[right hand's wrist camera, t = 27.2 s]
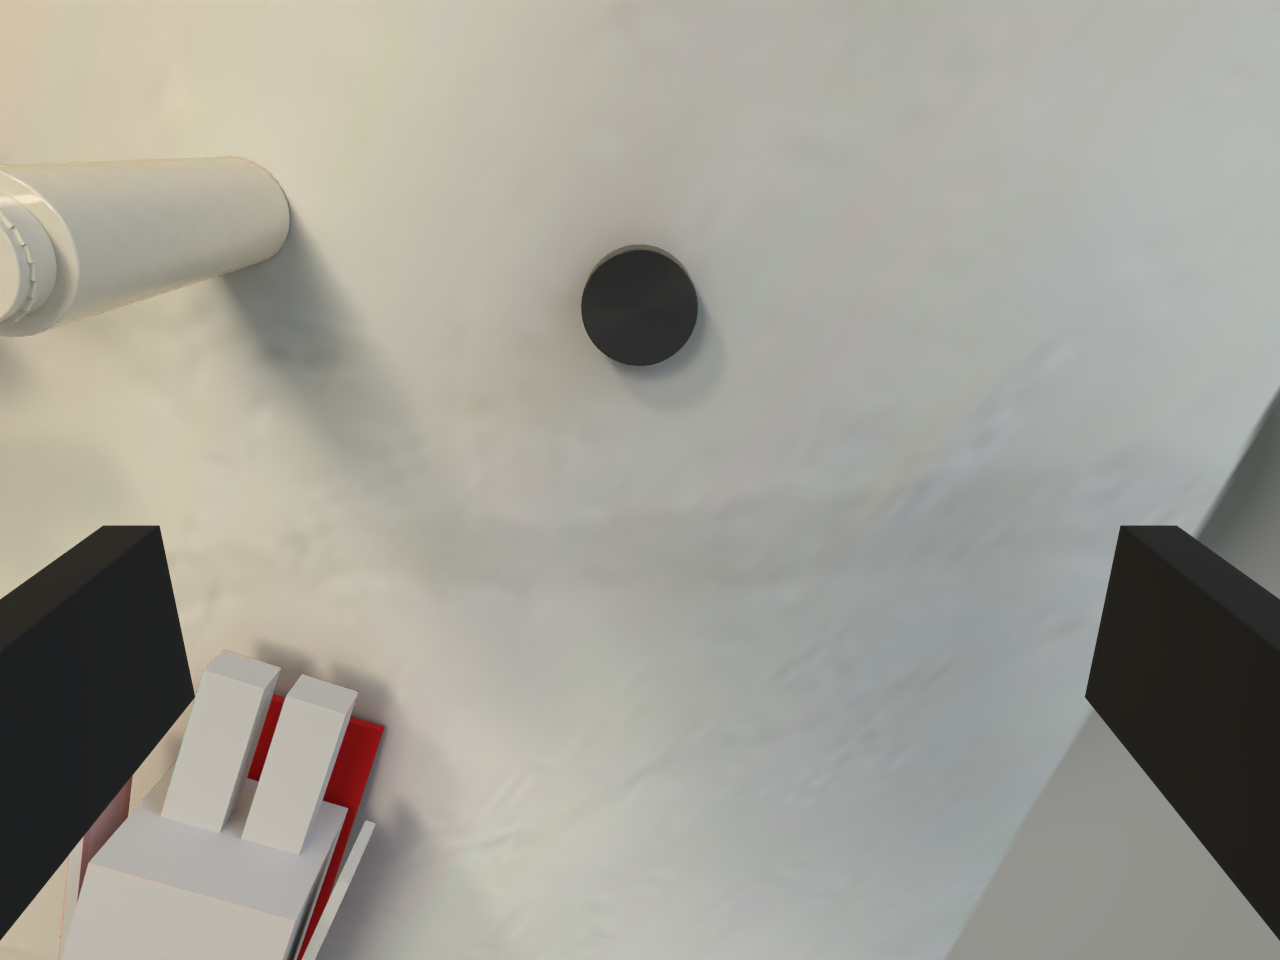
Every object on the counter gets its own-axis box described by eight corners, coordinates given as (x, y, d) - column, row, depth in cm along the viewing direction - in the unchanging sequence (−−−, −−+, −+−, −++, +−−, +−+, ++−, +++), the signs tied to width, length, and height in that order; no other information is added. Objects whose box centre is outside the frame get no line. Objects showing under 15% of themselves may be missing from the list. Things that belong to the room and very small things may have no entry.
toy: (382, 791, 35) (189, 1342, 41) (440, 650, 48) (288, 1084, 54) (70, 697, 34) (-83, 1282, 40) (217, 578, 47) (86, 1032, 53)
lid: (572, 257, 37) (569, 262, 36) (683, 233, 37) (686, 238, 35) (597, 366, 39) (595, 376, 37) (703, 344, 39) (706, 353, 37)
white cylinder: (289, 272, 38) (47, 363, 22) (185, 255, 37) (-131, 334, 22) (292, 166, 36) (35, 185, 21) (184, 147, 36) (-155, 152, 21)
